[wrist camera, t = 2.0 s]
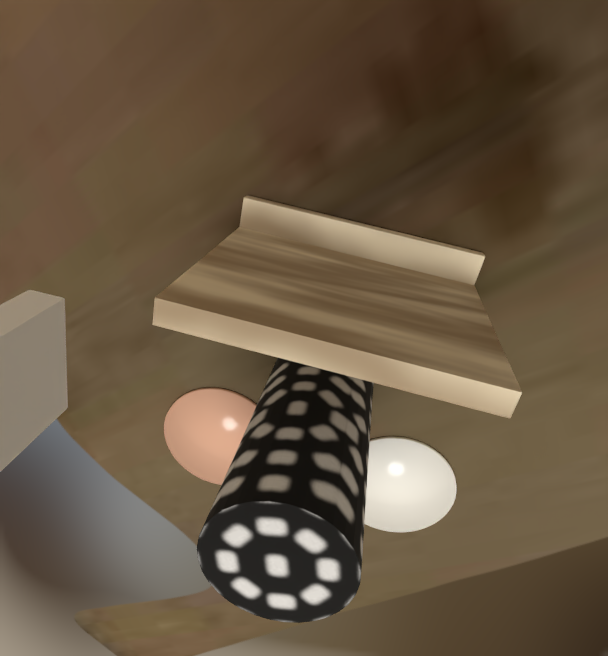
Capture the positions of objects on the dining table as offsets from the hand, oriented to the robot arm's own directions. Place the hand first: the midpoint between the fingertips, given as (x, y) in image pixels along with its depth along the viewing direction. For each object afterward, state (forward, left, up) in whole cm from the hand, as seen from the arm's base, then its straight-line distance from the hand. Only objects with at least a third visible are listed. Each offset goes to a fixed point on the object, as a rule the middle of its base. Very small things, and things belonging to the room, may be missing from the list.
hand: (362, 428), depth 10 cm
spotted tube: (+15, -1, -29) cm, 33 cm away
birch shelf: (+5, -1, -29) cm, 29 cm away
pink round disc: (+25, -9, -29) cm, 39 cm away
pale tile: (+25, +8, -29) cm, 39 cm away
